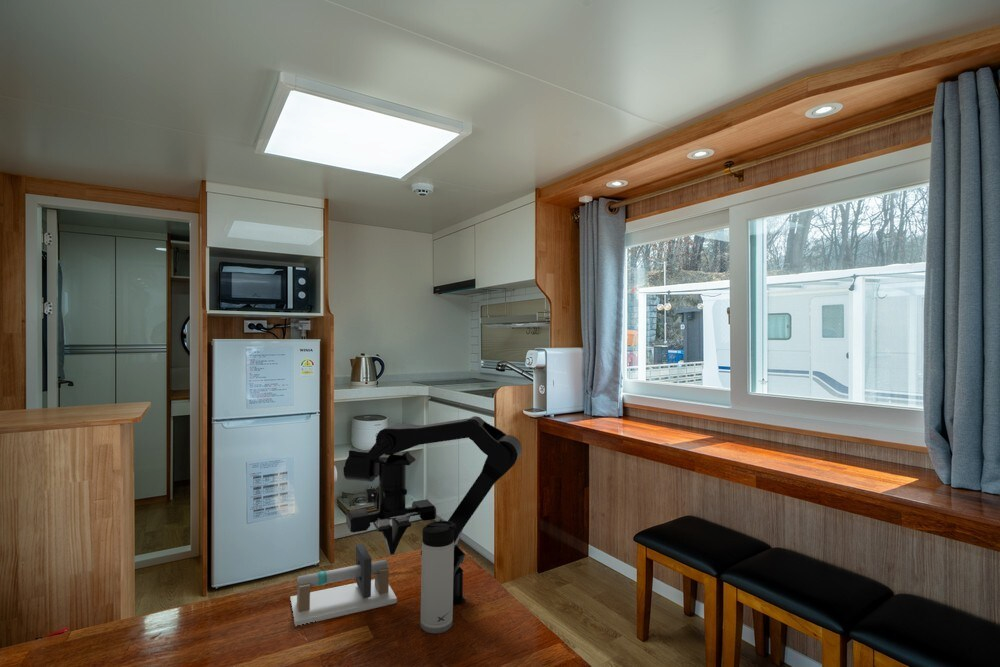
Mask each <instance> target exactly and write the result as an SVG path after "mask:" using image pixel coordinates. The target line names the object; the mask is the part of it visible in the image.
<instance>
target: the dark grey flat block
mask: <svg viewBox="0 0 1000 667" xmlns="http://www.w3.org/2000/svg"><path fill="white" fill-rule="evenodd" d="M371 562H372V557H371V555H370V553H369V552H368V550H367V548H366V546H365V545H364V543H359V544H358V543H357V544H356V545H355V565H360V564H361V566H362V572H361V577H357V578H355V583H357V585H358V587H359V589H360V592H361V594H362V596H363V598H368V597H371V580H372V575H371Z"/></svg>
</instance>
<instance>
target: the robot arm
mask: <svg viewBox="0 0 1000 667" xmlns="http://www.w3.org/2000/svg"><path fill="white" fill-rule="evenodd" d="M461 439H470V440H471V441H472V442H473V443H474V444H475V446H477V447H478V448H479V450H480V451H481V452H482V453H483V454H485V455H486V456H487V457H486V459H485V461H484V464H483V466H482V469H481V471H480V474H479V475H478V476H477V478H475V481H474V482H473V483H472V484H471V487H470V488H469V489H468V491H467V492H466V494H465V495H464V497H463V498H462V500H461V501H460V502H459V504H458V505H457V507H456V508H455V510H454V511H453V513H452V514H451V515H450V517H449V519H447V521H450V522H452V523H455V524H456V529H455V530H454V571H453V606H456V605H457V606H458V605H462V604H465V603H466V602H467V600H466V598H465V597H464V596H463V593H464V591H463V590H464V587H463V586H464V570H463V569H462V567H461V565H462V564H463V563H464V560H465V557H466V553H465V551H463V549H462V548H460V546H458V542H459V541H460V538H461V535H462V532H463V530H464V527H465V526H466V525H467V524H468V522H469V521H470V520H471V518H472V516H473V515H474V514H475V512H476V511H477V510H478V508H479V506H480V505H481V503H482V502H483V501H484V499H485V498H486V496H487V495H488V493H489V492H490V490H491V489H492V488H493V486H494V484H496V483H497V482H498V481H499V480H500V479H501V478H502V477H503V476H504V475H505V474H507V473H508V471H509V470H510V469H512V467H514V466H515V464H516V463H517V461H518V460H519V458H520V457H521V455H522V451H523V447H522V443H521V441H520V440H519V438H518V437H516V436H515V435H512V434H506V433H505V432H504V431H502V430H501V429H499V428H498V427H496V426H493V425H491V424H490V423H488V422H486V420H484V419H482V417H480V416H477V415H476V416H472V417H469V418H463V419H454V420H449V421H442V422H435V423H430V424H429V423H428V424H424V425H421V424H411V423H394V424H391V425H389V426H386V427H385V428H383V429H380V430H379V431H378V433H377V434H376V438H375V443H374V444H373V445H372V447H371V448H370V449H361V448H356V447H355V448H352V449H349V450H348V456H347V458H346V460H345V463H344V466H343V468H342V470H343V476H344V479H346V480H348V481H359V482H367V483H371V482H374V480H375V479H376V478H378V485H377V491H376V489H375V488H374V487H372V488H370V487H369V488H365V492H364V494H365V495H364V501H365V503H366V504H373V508H375V509H376V510H378V511H375V512H370V513H369V512H368V511H367V509H366V508H359V509H354V510H353V509H352V510H348V512H347V513H346V515H345V525H346V526H347V529H348V530H349V532H350V533H360V532H365V531H367V530H369V528H370V527H371V524H373V526H374V528H375V529H376V530H377V532H380V533H382V536H383V538H384V542H385V544H386V548H387V551H388V554H389V555H391V556H393V555H395V553H396V550H397V548H398V545H399V544H400V542H401V539H402V538H403V536H404V534H405V533H406V531H407V529H408V528H410V527H412V522H411V521H410V520H411V517H414V516H419V518H420V519H421V520H422V521H423V522H425V521H431V520H435V519H437V507H436V506H435V505H434V504H432V502H430V500H429V499H421V500H414V501H412V503H411V506H409V507H406V499H407V498H406V496H407V495H408V489H406V488H407V487H406V485H407V483H406V481H407V475H406V473H407V466H410V465H411V464H414V462H416V461H417V460H416V458H415V457H414V456H413V455H411V454H410V451H406V450H409V449H411V448H414V447H417V446H421V445H427V444H434V443H439V442H448V441H455V440H461ZM404 451H406V452H404ZM400 452H403V454H399V453H400ZM383 455H386V456H387V457H386V456H385V457H384V456H383ZM390 520H391V524H390ZM438 521H443V520H442V519H439V520H438ZM420 545H421V546H422V543H421V544H420ZM420 556H421V558H422V549H421V550H420Z"/></svg>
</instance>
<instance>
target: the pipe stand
mask: <svg viewBox="0 0 1000 667" xmlns="http://www.w3.org/2000/svg"><path fill="white" fill-rule="evenodd" d="M361 572H362V566H361V564H360V565H356V564H355V565H351V566H345V567H339V568H334V569H331V570H330V569H329V570H321V571H317V572H315V573H309V574H304V575H299V576H297V580H296V583H297V584H296V585H297V586H296V587H297V588H296V590H297V591H296V594H295V595H291V596H290V598H289V601H291V602H290V606H292V607H291V611H293V613H292V616H293V617H294V618H293V623H294V627H298V626H297V625H300V626H303V625H302V624H304V625H307V624H306V623H308V624H311V623H310V622H313V623H316V622H320V621H325V620H328V619H334V618H339V617H342V616H346V615H347V616H348V615H351V614H354V613H360V612H364V611H369V610H373V609H376V608H381V607H386V606H390V605H394V604H397V603H398V598H397V596H396V594H395V592H394V591H393V589H392V587H391V585H390V583H389V582H390V581H389V579H390V578H389V577H390V569H389V564H388V559H381V560H377V561H371V576H372V575H374V579H371V597H368V598H363V596H362V594H361V592H360V589H359V587H358V585H357V583H356V582H353V583H350V584H345V585H340V586H335V587H330V588H326V589H325V588H324V589H321V590H320V589H319V590H316V591H311V588H312V587H317V586H325V585H327V584H331V583H332V584H333V583H337V582H341V581H348V580H352V579H356V578H357V577H361ZM315 621H316V622H315Z"/></svg>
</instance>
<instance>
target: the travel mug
mask: <svg viewBox="0 0 1000 667" xmlns="http://www.w3.org/2000/svg"><path fill="white" fill-rule="evenodd" d="M455 529H456V524H455V523H452V522H450V521H448V520H442V521H439V520H438V521H433V522H429V523H427V524H426V526H424V527H423V528H422V540H421V544H422V545H421V550H422V557H421V572H420V573H421V576H420V578H421V579H420V582H421V583H420V584H421V585H420V621H419V622H420V623H419V625H420V628H421V629H422V630H423V632H426V633H429V634H442V633H445V632H447V631H448V630H450V628H451V627H452V626H453V618H454V617H453V610H454V609H453V608H454V605H453V571H454V530H455Z"/></svg>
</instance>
